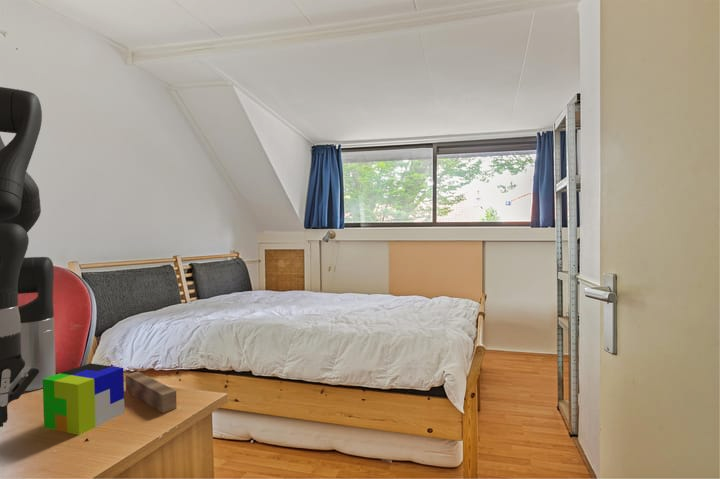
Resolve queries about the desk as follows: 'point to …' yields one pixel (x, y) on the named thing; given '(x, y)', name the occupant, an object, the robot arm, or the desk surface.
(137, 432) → the desk surface
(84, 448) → the desk surface
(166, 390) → the block
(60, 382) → the puzzle toy
